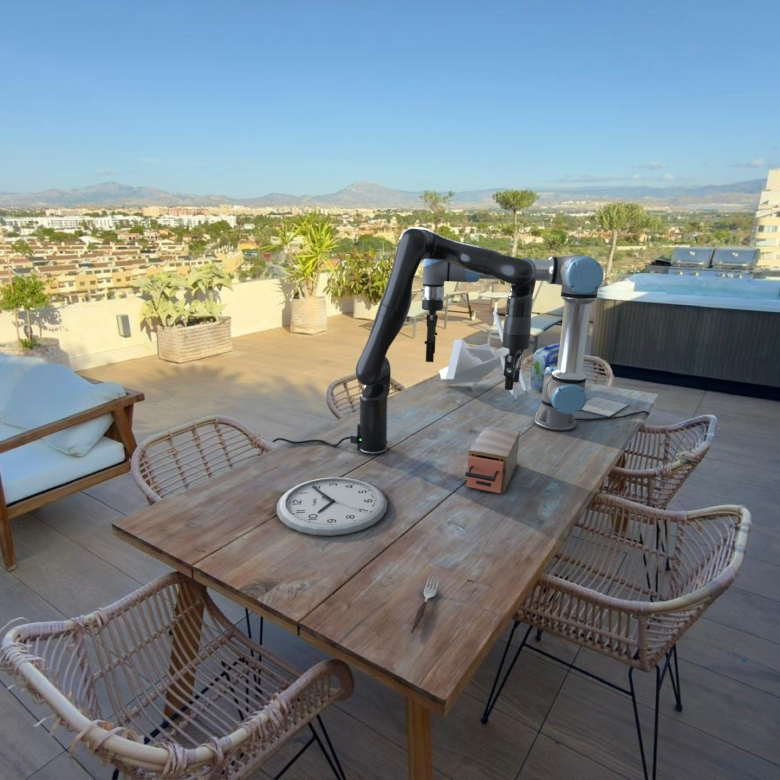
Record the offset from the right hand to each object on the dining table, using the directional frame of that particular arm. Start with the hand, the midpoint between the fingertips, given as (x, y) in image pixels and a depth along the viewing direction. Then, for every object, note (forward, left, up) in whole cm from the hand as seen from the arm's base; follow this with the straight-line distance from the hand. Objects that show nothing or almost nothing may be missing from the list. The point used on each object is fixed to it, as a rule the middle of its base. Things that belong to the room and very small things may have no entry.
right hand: (430, 357), depth 190 cm
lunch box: (-56, -63, -28) cm, 89 cm away
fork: (-4, +98, -28) cm, 102 cm away
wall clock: (+23, +61, -28) cm, 71 cm away
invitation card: (-73, -38, -28) cm, 87 cm away
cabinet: (-22, +35, -28) cm, 50 cm away
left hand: (-25, +36, +1) cm, 44 cm away
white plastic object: (-22, -50, -28) cm, 61 cm away
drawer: (-20, +41, -27) cm, 53 cm away
